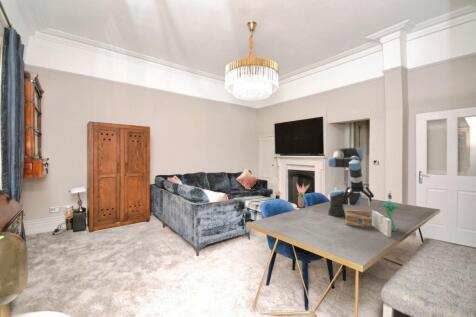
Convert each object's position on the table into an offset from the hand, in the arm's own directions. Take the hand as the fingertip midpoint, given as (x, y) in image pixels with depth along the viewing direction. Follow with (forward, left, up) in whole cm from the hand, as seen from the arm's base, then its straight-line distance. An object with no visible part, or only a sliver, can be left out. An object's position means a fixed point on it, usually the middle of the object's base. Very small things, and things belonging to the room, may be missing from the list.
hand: (358, 204), depth 165 cm
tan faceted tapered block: (-12, +3, -20) cm, 24 cm away
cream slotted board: (-2, +16, -20) cm, 26 cm away
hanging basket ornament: (-9, +26, -20) cm, 34 cm away
